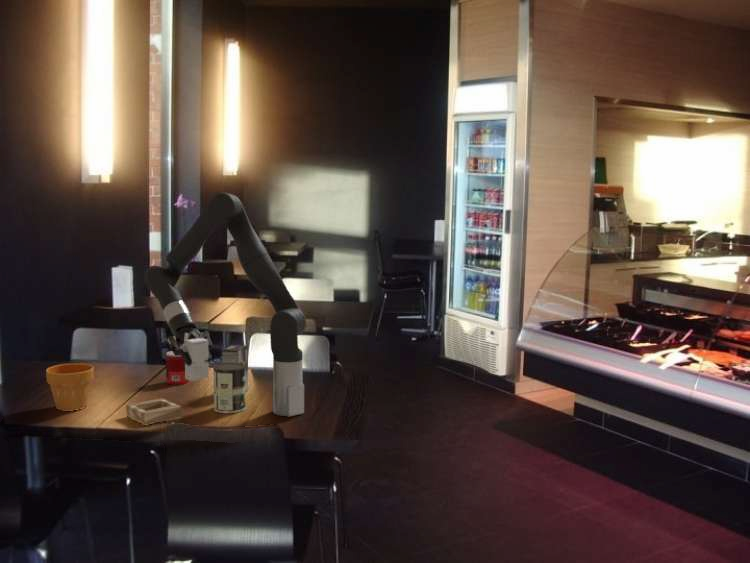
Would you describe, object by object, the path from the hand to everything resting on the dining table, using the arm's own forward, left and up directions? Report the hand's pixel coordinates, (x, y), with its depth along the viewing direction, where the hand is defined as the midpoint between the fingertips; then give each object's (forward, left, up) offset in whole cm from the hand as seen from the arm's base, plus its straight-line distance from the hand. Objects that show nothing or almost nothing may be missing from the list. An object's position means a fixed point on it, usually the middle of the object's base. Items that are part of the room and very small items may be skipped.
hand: (199, 362), depth 246 cm
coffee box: (+19, -25, -18) cm, 36 cm away
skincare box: (+2, 0, -6) cm, 6 cm away
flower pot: (+37, +25, -18) cm, 48 cm away
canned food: (+44, -17, -18) cm, 50 cm away
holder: (+11, +10, -18) cm, 23 cm away
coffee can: (+4, -13, -18) cm, 23 cm away
